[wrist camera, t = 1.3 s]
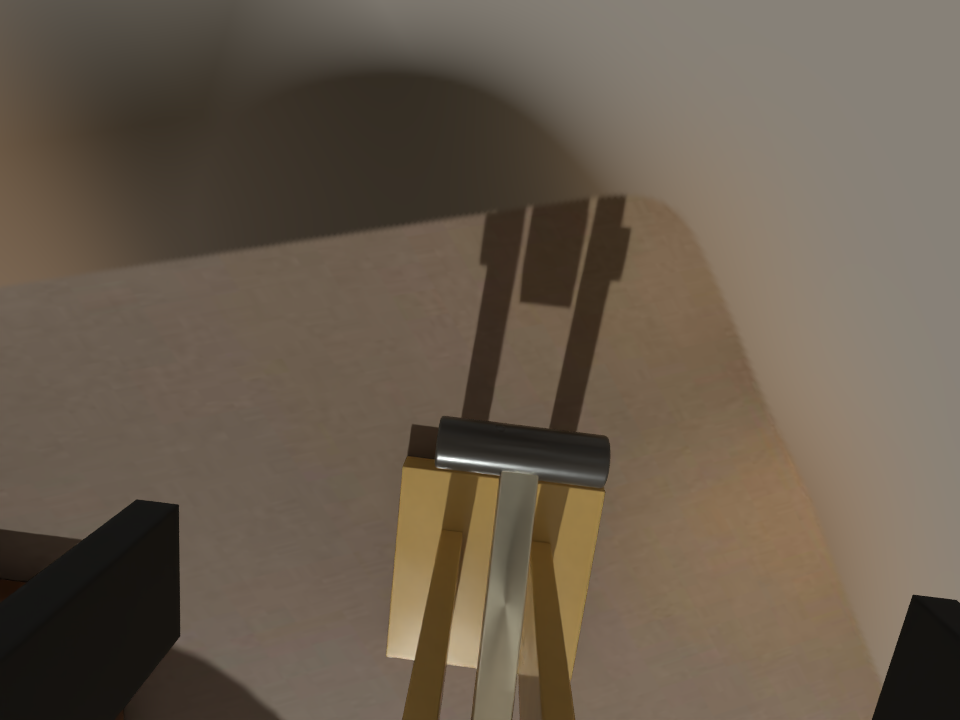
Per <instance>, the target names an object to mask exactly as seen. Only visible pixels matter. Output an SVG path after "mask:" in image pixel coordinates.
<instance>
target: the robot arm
mask: <svg viewBox="0 0 960 720" xmlns="http://www.w3.org/2000/svg"><path fill="white" fill-rule="evenodd" d="M179 637H180V573H179V505H178V504H169V503H161V502H153V501H145V500H135V501H134V502H133V503H131V504H130V505H129V506H127V507H126V508H125V509H123V510H122V511H121V512H119V513H118V514H117V515H115V516H114V517H113V518H111V519H110V520H109V521H108V522H106V523H105V524H104V525H102V526H101V527H100V528H98V529H97V530H96V531H94V532H93V533H92V534H90V535H89V536H88V537H86V538H85V539H84V540H82V541H81V542H80V543H78V544H77V545H76V546H74V547H73V548H72V549H70V550H69V551H68V552H66V553H65V554H64V555H63V556H61V557H60V558H59V559H57V560H56V561H55V562H53V563H52V564H51V565H49V566H48V567H47V568H45V569H44V570H43V571H41V572H40V573H39V574H37V575H36V576H35V577H33V578H32V579H31V580H29V581H28V582H27V583H25V584H24V585H23V586H21V587H20V588H19V589H18V590H16V591H15V592H14V593H12V594H11V595H10V596H8V597H7V598H6V599H4V600H3V601H2V602H0V720H115V719H116V718H117V716H118V715H119V714H120V712H121V711H122V710H123V709H124V707H125V706H126V705H127V703H128V702H129V701H130V700H131V698H132V697H133V696H134V694H135V693H136V692H137V691H138V689H139V688H140V687H141V686H142V684H143V683H144V682H145V680H146V679H147V678H148V677H149V675H150V674H151V673H152V671H153V670H154V669H155V668H156V666H157V665H158V664H159V663H160V661H161V660H162V659H163V657H164V656H165V655H166V654H167V652H168V651H169V650H170V648H171V647H172V646H173V645H174V643H175V642H176V641H177V640H178V638H179ZM872 720H960V603H959V602H958V601H957V600H952V599H944V598H935V597H928V596H919V595H913V596H912V599H911V602H910V605H909V608H908V611H907V614H906V617H905V620H904V623H903V626H902V629H901V633H900V635H899V638H898V641H897V645H896V648H895V651H894V654H893V657H892V660H891V663H890V666H889V669H888V672H887V675H886V678H885V681H884V684H883V687H882V690H881V693H880V696H879V699H878V702H877V706H876V709H875V712H874V715H873V718H872Z"/></svg>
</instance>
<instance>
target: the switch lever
mask: <svg viewBox="0 0 960 720" xmlns="http://www.w3.org/2000/svg"><path fill="white" fill-rule="evenodd" d="M435 467H436V468H441V469H449V470H457V471H465V472H473V473H481V474H489V475H497V476H499V483H498V492H497V500H496V509H495V518H494V526H493V535H492V543H491V552H490V560H489V569H488V577H487V586H486V595H485V603H484V612H483V620H482V629H481V637H480V646H479V655H478V663H477V672H476V680H475V689H474V697H473V706H472V714H471V720H512V716H513V707H514V698H515V689H516V680H517V671H518V661H519V652H520V643H521V634H522V625H523V616H524V607H525V598H526V588H527V579H528V570H529V561H530V552H531V543H532V534H533V525H534V516H535V506H536V497H537V488H538V481H545V482H553V483H562V484H570V485H578V486H586V487H594V488H603V487H604V485H605V483H606V481H607V477H608V473H609V467H610V443H609V439H608V437H606V436H604V435H596V434H588V433H580V432H572V431H564V430H556V429H547V428H539V427H531V426H523V425H515V424H507V423H499V422H490V421H482V420H474V419H466V418H458V417H450V416H442V418H441V420H440V424H439V430H438V436H437V443H436V452H435Z"/></svg>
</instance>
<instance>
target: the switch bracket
mask: <svg viewBox="0 0 960 720" xmlns="http://www.w3.org/2000/svg"><path fill="white" fill-rule="evenodd" d="M498 483H499V476H497V475H489V474H481V473H473V472H465V471H457V470H449V469H441V468H436V467H435V459H427V458H419V457H411V456H407V458H406V460H405V463H404V465H403V469H402V481H401V492H400V503H399V514H398V526H397V537H396V548H395V559H394V571H393V582H392V593H391V605H390V616H389V627H388V638H387V650H386V657H393V658H401V659H408V660H414V664H413V669H412V674H411V679H410V684H409V689H408V693H407V698H406V703H405V708H404V713H403V718H402V720H440V712H441V705H442V697H443V689H444V682H445V674H446V667H447V665H455V666H463V667H471V668H477V663H478V655H479V646H480V637H481V629H482V620H483V612H484V603H485V595H486V586H487V577H488V569H489V560H490V552H491V543H492V535H493V526H494V518H495V509H496V500H497V492H498ZM604 497H605V490H604V487H603V488H594V487H586V486H578V485H570V484H562V483H553V482H545V481H538V488H537V497H536V506H535V516H534V525H533V534H532V543H531V552H530V561H529V570H528V579H527V588H526V598H525V607H524V616H523V625H522V634H521V643H520V652H519V661H518V671H517V674H518V675H519V711H520V720H575V714H574V706H573V699H572V692H571V685H570V680H571V678H572V673H573V667H574V662H575V656H576V651H577V645H578V640H579V634H580V629H581V623H582V618H583V612H584V607H585V601H586V596H587V590H588V585H589V579H590V574H591V568H592V563H593V557H594V552H595V546H596V541H597V535H598V530H599V524H600V519H601V513H602V508H603V502H604Z"/></svg>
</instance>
